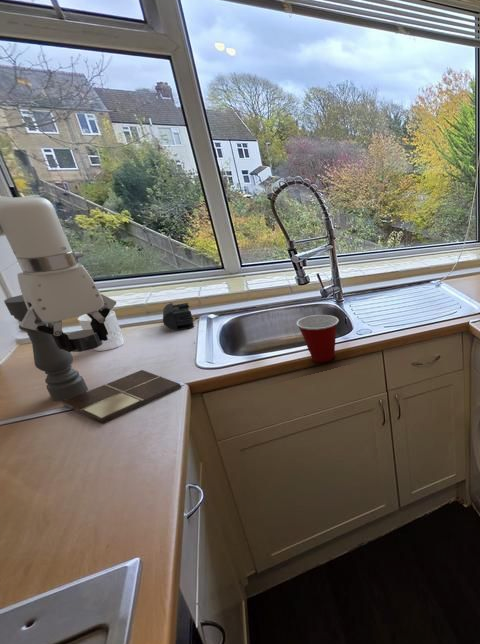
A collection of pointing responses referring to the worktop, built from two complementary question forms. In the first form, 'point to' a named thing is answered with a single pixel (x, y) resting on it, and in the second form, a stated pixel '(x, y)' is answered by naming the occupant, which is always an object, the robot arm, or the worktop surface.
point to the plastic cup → (319, 336)
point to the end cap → (177, 316)
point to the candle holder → (49, 357)
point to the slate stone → (85, 340)
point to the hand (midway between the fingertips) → (85, 344)
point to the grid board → (121, 396)
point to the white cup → (112, 329)
